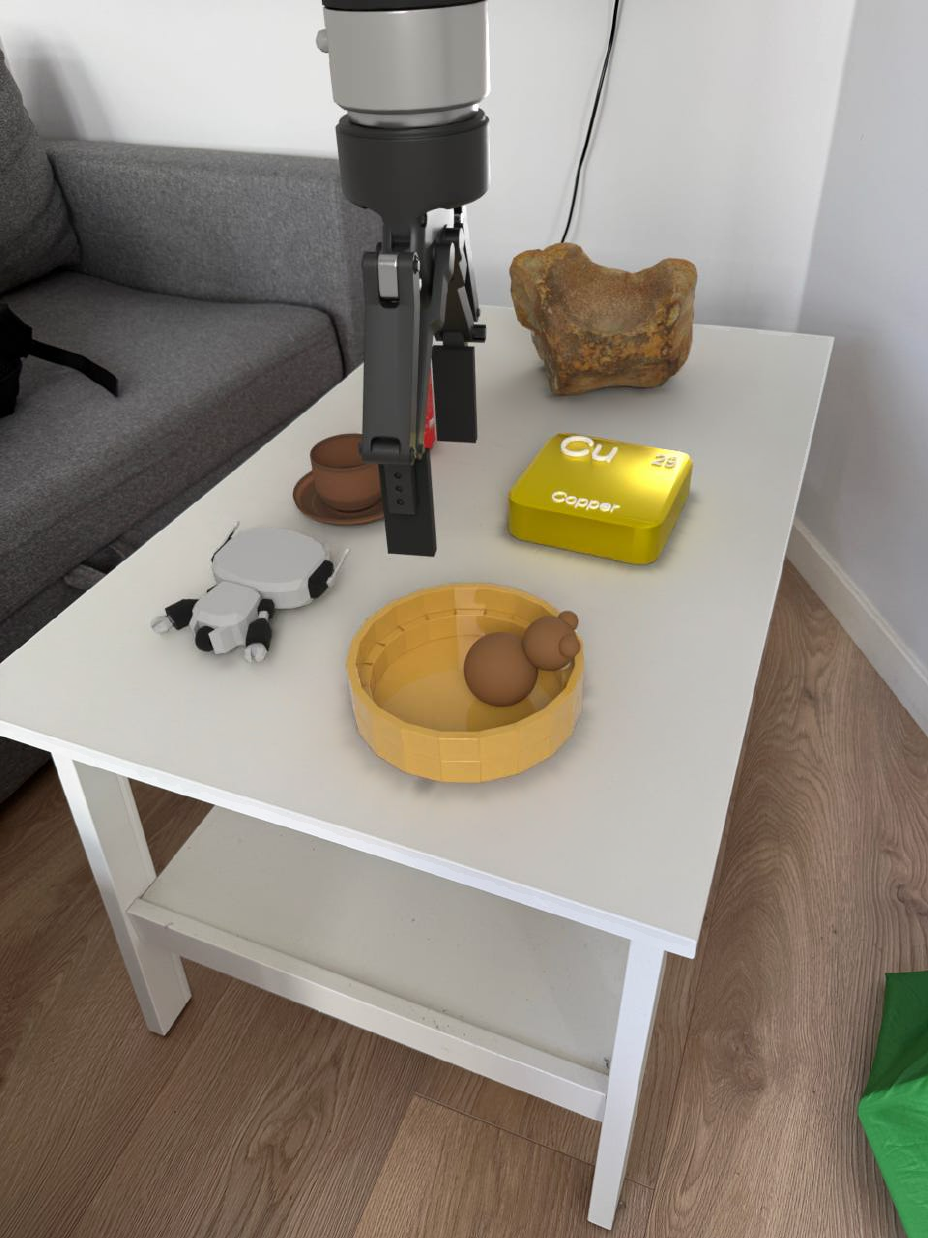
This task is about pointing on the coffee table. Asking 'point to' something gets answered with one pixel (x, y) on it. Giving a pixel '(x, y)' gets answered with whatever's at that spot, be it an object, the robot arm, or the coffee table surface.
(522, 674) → the plush bear
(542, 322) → the rough brown rock
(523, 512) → the element tile
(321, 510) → the cup and saucer
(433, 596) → the ochre bowl
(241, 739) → the coffee table surface
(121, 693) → the coffee table surface
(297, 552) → the robot toy
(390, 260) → the robot arm
